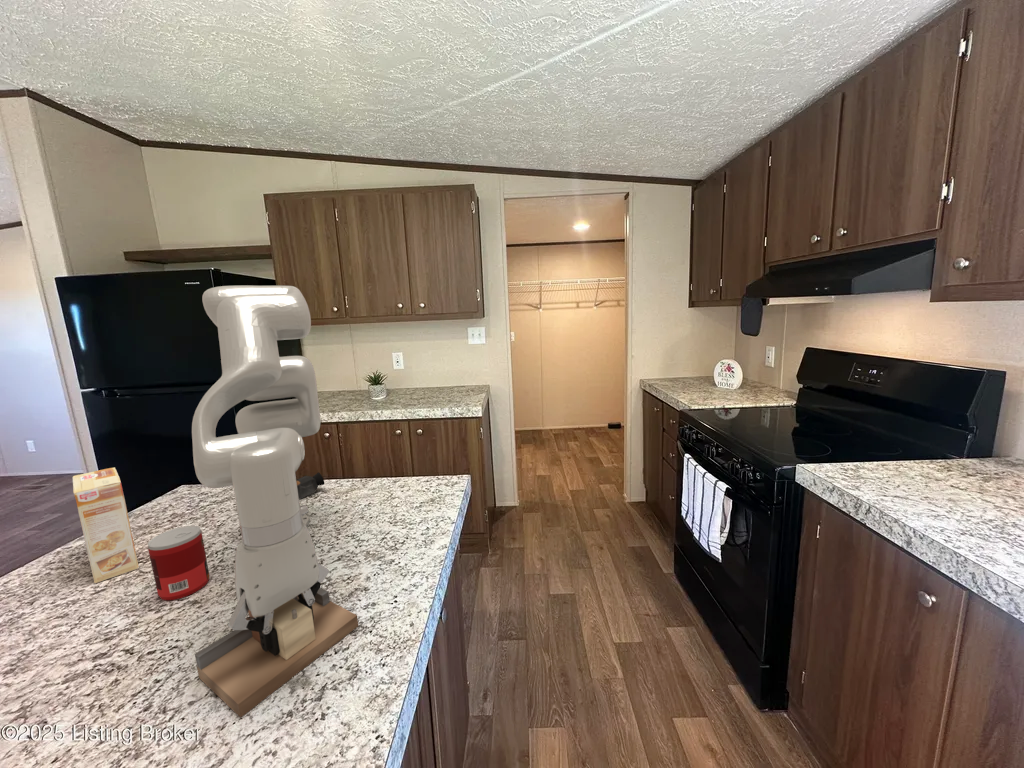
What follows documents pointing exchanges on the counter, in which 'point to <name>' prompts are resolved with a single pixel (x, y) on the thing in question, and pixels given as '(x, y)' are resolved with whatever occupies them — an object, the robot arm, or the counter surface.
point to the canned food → (178, 562)
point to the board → (267, 658)
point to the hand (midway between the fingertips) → (289, 637)
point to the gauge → (291, 627)
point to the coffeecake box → (105, 523)
